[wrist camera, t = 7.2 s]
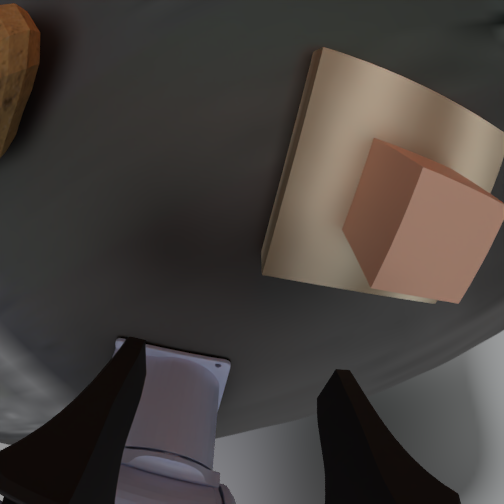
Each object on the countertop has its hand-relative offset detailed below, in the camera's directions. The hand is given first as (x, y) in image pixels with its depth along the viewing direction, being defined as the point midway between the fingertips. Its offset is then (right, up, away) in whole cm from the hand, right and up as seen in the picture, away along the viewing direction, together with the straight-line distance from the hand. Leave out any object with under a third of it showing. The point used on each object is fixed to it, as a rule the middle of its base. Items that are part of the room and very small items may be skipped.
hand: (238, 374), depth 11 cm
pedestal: (+8, +9, +6) cm, 14 cm away
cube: (+8, +7, +4) cm, 12 cm away
